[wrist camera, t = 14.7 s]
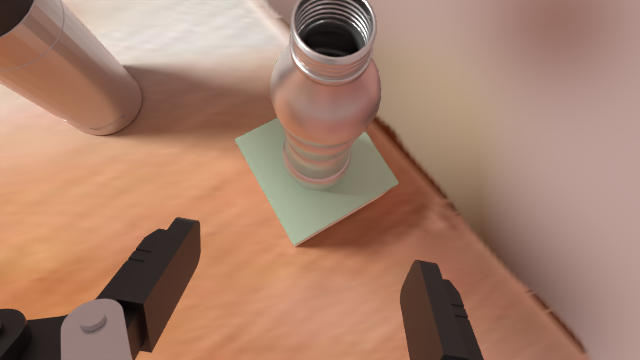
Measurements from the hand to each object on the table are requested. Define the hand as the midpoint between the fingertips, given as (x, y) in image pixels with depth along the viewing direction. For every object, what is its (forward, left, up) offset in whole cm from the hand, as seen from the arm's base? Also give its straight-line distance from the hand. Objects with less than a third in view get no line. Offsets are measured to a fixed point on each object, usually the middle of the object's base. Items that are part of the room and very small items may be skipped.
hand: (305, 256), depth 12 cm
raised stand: (-8, +6, -27) cm, 28 cm away
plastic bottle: (-7, +6, -19) cm, 21 cm away
